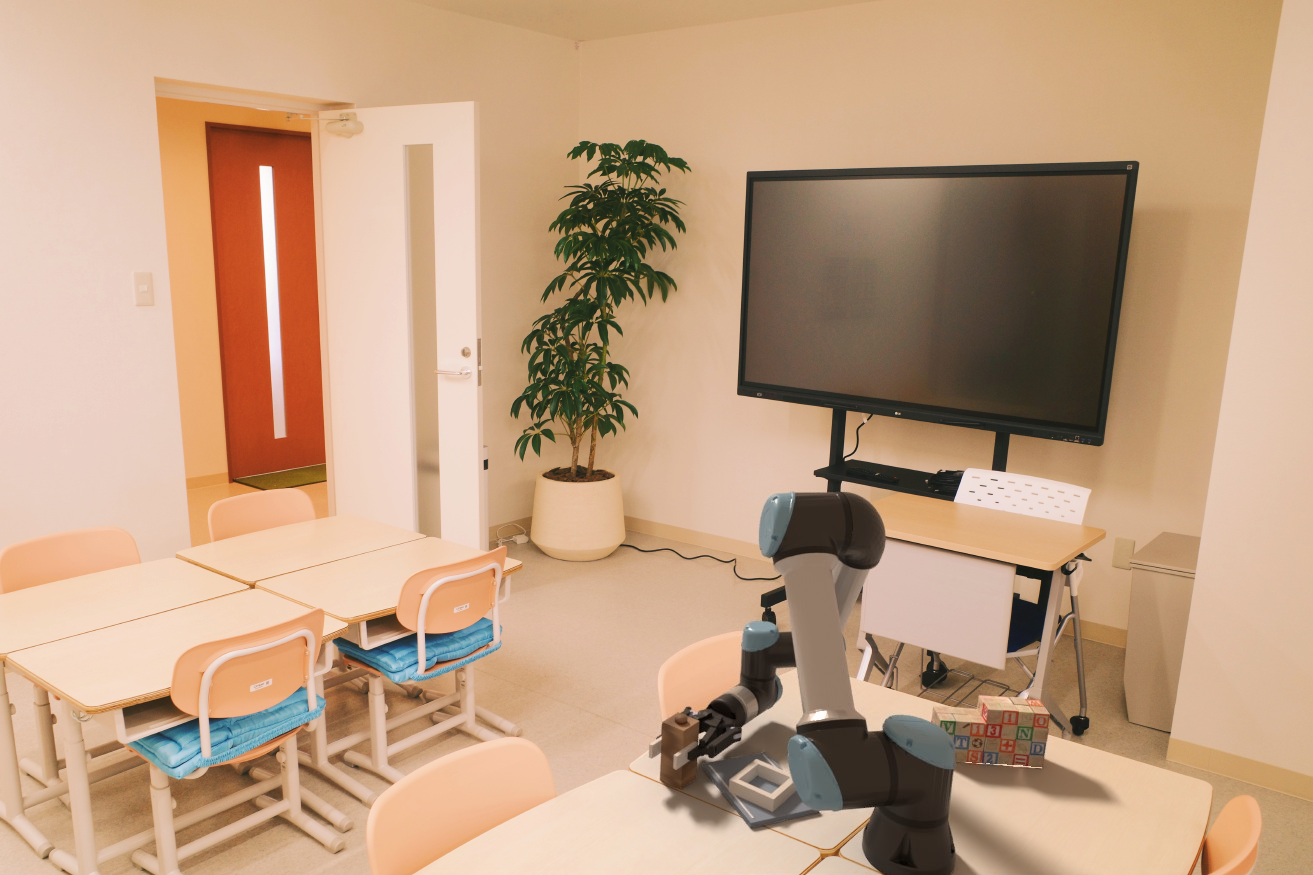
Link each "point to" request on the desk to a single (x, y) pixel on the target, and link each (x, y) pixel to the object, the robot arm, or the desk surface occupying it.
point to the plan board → (747, 810)
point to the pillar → (678, 749)
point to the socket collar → (756, 795)
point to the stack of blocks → (997, 730)
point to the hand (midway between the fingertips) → (662, 756)
